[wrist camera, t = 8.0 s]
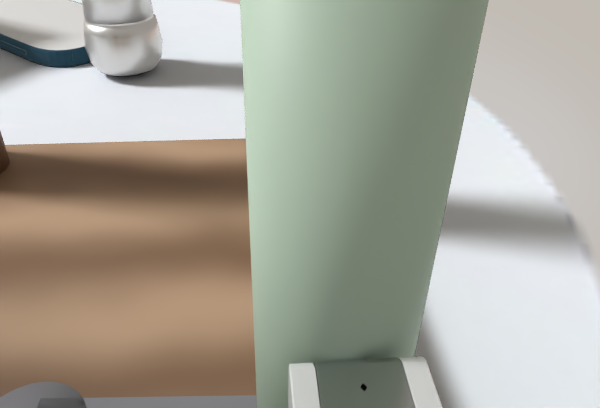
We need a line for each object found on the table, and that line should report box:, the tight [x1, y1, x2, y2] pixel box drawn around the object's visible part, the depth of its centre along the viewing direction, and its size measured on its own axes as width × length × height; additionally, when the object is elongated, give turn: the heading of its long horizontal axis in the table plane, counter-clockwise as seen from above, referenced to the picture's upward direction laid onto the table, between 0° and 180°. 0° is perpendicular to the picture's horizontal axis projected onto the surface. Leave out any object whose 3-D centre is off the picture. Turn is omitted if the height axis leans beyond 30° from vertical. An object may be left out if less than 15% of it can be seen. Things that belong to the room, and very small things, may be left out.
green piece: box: [0, 0, 488, 408], centre depth 12 cm, size 12×4×14 cm, turn 92°
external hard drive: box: [0, 0, 91, 67], centre depth 58 cm, size 24×12×2 cm, turn 52°
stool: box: [0, 132, 257, 398], centre depth 20 cm, size 22×22×17 cm
